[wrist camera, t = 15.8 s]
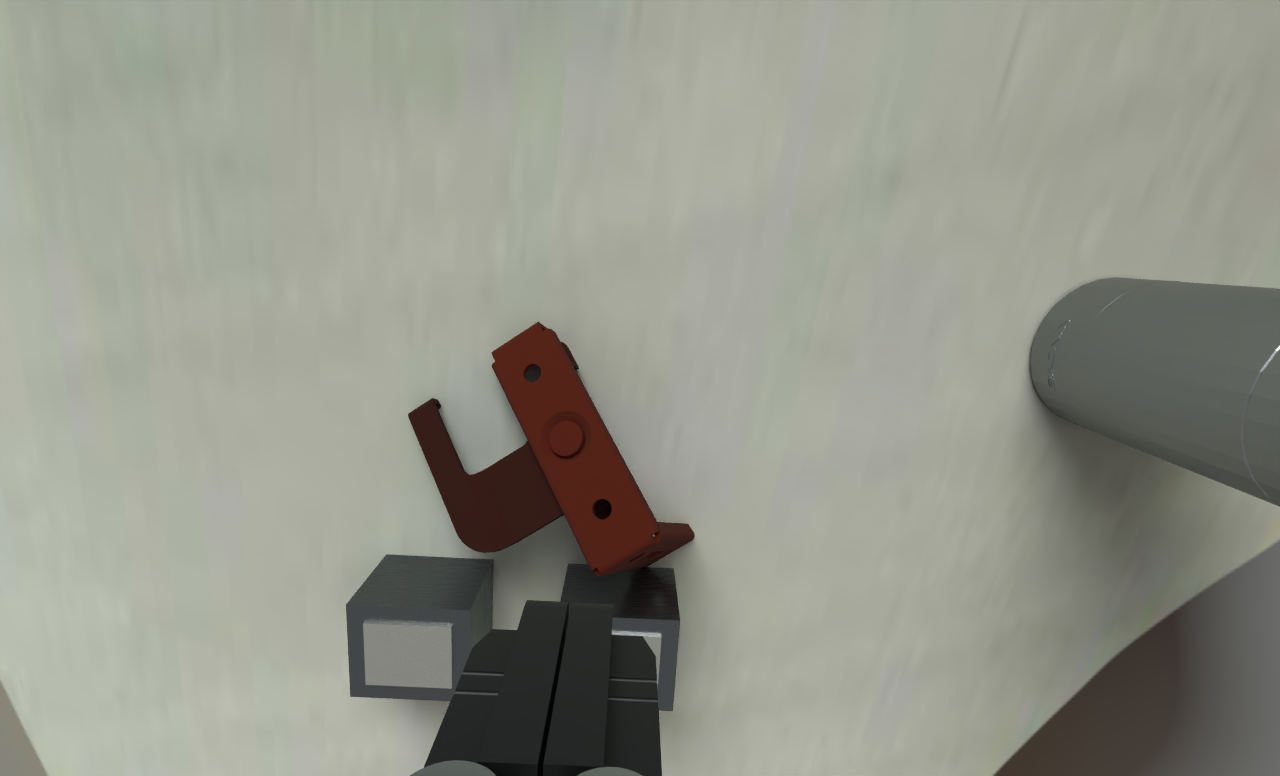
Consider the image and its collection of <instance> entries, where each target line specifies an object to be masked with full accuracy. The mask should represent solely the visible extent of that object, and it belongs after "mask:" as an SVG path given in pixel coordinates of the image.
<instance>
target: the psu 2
mask: <svg viewBox="0 0 1280 776" xmlns="http://www.w3.org/2000/svg"><path fill="white" fill-rule="evenodd" d="M560 602H569V616H570V610H571V605H572V602H577V603H598V604H613V623H612V635H629V636H643V637H644V639H645V640H646V642H647V643H648V645H649V646H650V648H651V649H652V651H653V653H654V654H655V656H656V668H657V688H658V708H659V710H662V711H673V701H674V688H675V676H676V663H677V651H678V638H679V625H680V617H679V609H678V600H677V592H676V584H675V575H674V569H669V568H648V567H642V568H637V569H632V570H627V571H622V572H617V573H612V574H608V575H603V576H597V575H595V574H594V572H593V571H591V569H590V566H589V565H587V564H568V568H567V573H566V578H565V582H564V587H563V592H562V597H561V601H560Z"/></svg>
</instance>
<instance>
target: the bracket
mask: <svg viewBox="0 0 1280 776" xmlns="http://www.w3.org/2000/svg"><path fill="white" fill-rule="evenodd" d="M492 355H493V358H494V360H495V362H494V363H493V364H492V368H493V370H494V372H495V374H496V376H497V378H498V380H499V382H500V384H501V386H502V388H503V390H504V392H505V394H506V396H507V399H508V401H509V403H510V405H511V407H512V409H513V411H514V413H515V415H516V417H517V419H518V421H519V423H520V425H521V427H522V429H523V431H524V433H525V435H526V437H527V439H528V441H527V443H526V444H525V445H524V446H522V447H521V448H519V449H517V450H516V451H514V452H512V453H511V454H509V455H508V456H506V457H504V458H503V459H501V460H499V461H498V462H496V463H495V464H493V465H491V466H490V467H488V468H486V469H485V470H483V471H481V472H479V473H476V474H473V475H469V474H467V473H466V472H465V471H464V469H463V466H462V464H461V462H460V459H459V457H458V455H457V453H456V450H455V448H454V446H453V443H452V441H451V439H450V436H449V434H448V432H447V429H446V427H445V425H444V423H443V420H442V418H441V416H440V413H439V411H438V409H439V408H440V407H441V405H440V403H439V401H438V400H437V399H434V398H432V399H431V400H429V401H427V402H426V403H424V404H423V405H421V406H420V407H418V408H417V409H415V410H413V411H412V412H410V413H409V414H408V417H409V419H410V422H411V424H412V426H413V429H414V431H415V434H416V436H417V439H418V441H419V443H420V446H421V448H422V451H423V453H424V455H425V458H426V460H427V463H428V465H429V467H430V470H431V472H432V475H433V477H434V480H435V482H436V484H437V487H438V489H439V492H440V494H441V496H442V499H443V501H444V504H445V506H446V508H447V511H448V513H449V516H450V518H451V521H452V523H453V525H454V528H455V530H456V532H457V534H458V536H459V538H460V539H461V541H462V542H463V543H464V544H465V545H466V546H468V547H469V548H471V549H473V550H475V551H478V552H484V553H486V552H496V551H500V550H502V549H505V548H507V547H509V546H511V545H513V544H515V543H517V542H519V541H521V540H522V539H524V538H526V537H527V536H529V535H531V534H532V533H534V532H536V531H537V530H539V529H541V528H542V527H544V526H546V525H548V524H549V523H551V522H553V521H554V520H556V519H558V518H559V517H561V516H563V515H565V517H566V519H567V521H568V523H569V526H570V528H571V530H572V532H573V534H574V536H575V538H576V540H577V542H578V544H579V546H580V548H581V550H582V552H583V554H584V556H585V558H586V560H587V562H588V564H589V566H590V569H591V571H593V572H594V574H595V575H597V576H603V575H608V574H612V573H617V572H622V571H627V570H632V569H637V568H642V567H647V566H649V565H651V564H652V563H654V562H656V561H657V560H659V559H661V558H663V557H664V556H666V555H668V554H669V553H671V552H673V551H675V550H676V549H678V548H680V547H681V546H683V545H685V544H686V543H688V542H690V541H692V540H693V539H694V532H693V531H692V529H691V528H690V526H689V525H688V524H681V523H664V522H657V521H656V519H655V517H654V515H653V513H652V511H651V510H650V508H649V506H648V504H647V502H646V500H645V498H644V497H643V495H642V493H641V491H640V489H639V487H638V485H637V484H636V482H635V480H634V478H633V476H632V474H631V472H630V471H629V469H628V467H627V465H626V463H625V461H624V459H623V458H622V456H621V454H620V452H619V450H618V448H617V446H616V444H615V443H614V441H613V439H612V437H611V435H610V433H609V431H608V430H607V428H606V426H605V424H604V422H603V420H602V418H601V417H600V415H599V413H598V411H597V409H596V407H595V405H594V404H593V402H592V400H591V398H590V396H589V394H588V392H587V391H586V389H585V387H584V385H583V383H582V381H581V379H580V378H579V376H578V374H577V372H576V370H577V369H579V367H578V365H577V363H576V361H575V359H574V358H573V356H572V354H571V352H570V350H569V348H568V347H567V345H566V344H564V343H563V342H560V340H559V339H558V337H557V335H556V333H555V332H554V331H553V330H551V329H547V328H546V327H545V326H543V325H542V324H541V323H539V322H537V323H536V324H534V325H533V326H531V327H530V328H528V329H526V330H525V331H523V332H522V333H520V334H519V335H517V336H516V337H514V338H513V339H511V340H510V341H508V342H507V343H505V344H504V345H502V346H500V347H499V348H497V349H496V350H494V351H493V352H492ZM533 365H538V366H539V367H540V369H541V375H540V378H539V379H538V380H537V381H535V382H528V380H527V379H526V372H527V370H528V369H529V368H530V367H531V366H533ZM654 534H655V537H654V538H653V536H652V535H654Z"/></svg>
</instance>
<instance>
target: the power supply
mask: <svg viewBox="0 0 1280 776" xmlns="http://www.w3.org/2000/svg"><path fill="white" fill-rule="evenodd" d="M492 601H493V560H485V559H465V558H444V557H424V556H404V555H386V556H385V557H384V558H383V559H382V561H381V562H380V563H379V564H378V566H377V567H376V568H375V569H374V571H373V572H372V573H371V574H370V576H369V577H368V578H367V579H366V581H365V582H364V583H363V584H362V586H361V587H360V588H359V589H358V591H357V592H356V593H355V594H354V596H353V597H352V598H351V599H350V601H349V602H348V603H347V604H346V613H347V634H348V655H349V675H350V696H351V697H371V698H394V699H416V700H438V701H451V699H452V697H453V694H455V689H456V687H457V684H458V682H459V679H460V677H461V675H463V669H464V667H465V664H466V662H467V659H468V657H469V655H470V652H471V650H472V648H473V647H474V646H475V645H476V644H477V643H478V642H479V641H480V640H481V639H482V638H483V637H485V636H486V635H487V634H488V633H489V632H490V631H491V630H492Z"/></svg>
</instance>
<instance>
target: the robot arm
mask: <svg viewBox="0 0 1280 776" xmlns="http://www.w3.org/2000/svg"><path fill="white" fill-rule="evenodd" d="M1030 366H1031V374H1032V380H1033V383H1034V385H1035V388H1036V391H1037V393H1038V395H1039V396H1040V398H1041V399H1042V401H1043V402H1044V403H1045V405H1046V406H1047V407H1049V408H1050V409H1051V410H1052V411H1053V412H1054V413H1055V414H1057V415H1059V416H1061V417H1062V418H1064V419H1066V420H1068V421H1070V422H1073V423H1075V424H1078V425H1080V426H1083V427H1085V428H1088V429H1090V430H1092V431H1095V432H1097V433H1100V434H1102V435H1105V436H1107V437H1109V438H1112V439H1114V440H1116V441H1119V442H1121V443H1124V444H1126V445H1129V446H1131V447H1134V448H1136V449H1138V450H1141V451H1143V452H1146V453H1148V454H1151V455H1153V456H1156V457H1158V458H1161V459H1163V460H1166V461H1168V462H1171V463H1173V464H1176V465H1178V466H1181V467H1183V468H1185V469H1188V470H1190V471H1193V472H1195V473H1198V474H1200V475H1203V476H1205V477H1208V478H1210V479H1213V480H1215V481H1218V482H1220V483H1223V484H1225V485H1227V486H1230V487H1232V488H1235V489H1237V490H1240V491H1242V492H1245V493H1247V494H1250V495H1252V496H1255V497H1257V498H1260V499H1262V500H1265V501H1267V502H1270V503H1272V504H1274V505H1277V506H1279V507H1280V289H1276V288H1261V287H1247V286H1232V285H1218V284H1203V283H1189V282H1178V281H1163V280H1146V279H1130V278H1108V279H1101V280H1097V281H1094V282H1091V283H1088V284H1086V285H1083V286H1081V287H1079V288H1078V289H1076V290H1074V291H1073V292H1071V293H1069V294H1068V295H1066V296H1065V297H1064V298H1063V299H1062V300H1061V301H1059V302H1058V303H1057V304H1056V305H1055V306H1054V307H1053V308H1052V310H1051V311H1050V312H1049V313H1048V315H1047V316H1046V317H1045V318H1044V320H1043V322H1042V324H1041V326H1040V328H1039V330H1038V331H1037V333H1036V336H1035V340H1034V343H1033V346H1032V351H1031V362H1030ZM612 623H613V604H598V603H577V602H572V605H571V610H570V616H569V602H553V601H532V600H527V601H526V604H525V607H524V610H523V613H522V616H521V620H520V623H519V626H518V629H517V630H498V629H492V630H491V631H490V632H489V633H488V634H487V635H486V636H485V637H483V638H482V639H481V640H480V641H479V642H478V643H477V644H476V645H475V646H474V647H473V648H472V650H471V652H470V655H469V657H468V659H467V662H466V664H465V667H464V669H463V675H461V677H460V679H459V682H458V684H457V687H456V689H455V694H453V697H452V699H451V701H450V704H449V706H448V709H447V711H446V714H445V716H444V719H443V721H442V724H441V726H440V729H439V731H438V734H437V736H436V739H435V741H434V743H433V746H432V748H431V751H430V753H429V756H428V758H427V761H426V763H425V766H424V768H423V769H421V770H419V771H417V772H415V773H413V774H412V775H410V776H662V768H661V748H660V728H659V708H658V688H657V668H656V656H655V654H654V653H653V651H652V649H651V648H650V646H649V645H648V643H647V642H646V640H645V639H644V637H643V636H629V635H612Z"/></svg>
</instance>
